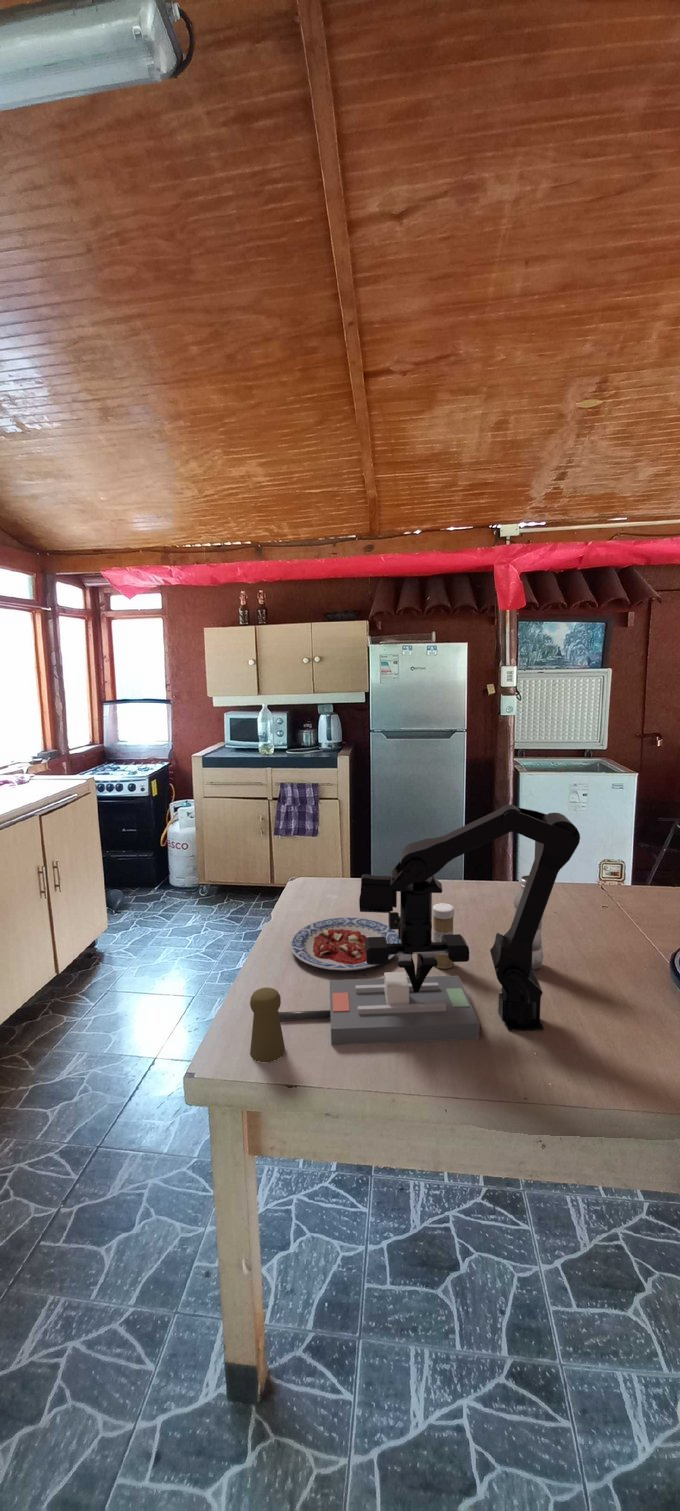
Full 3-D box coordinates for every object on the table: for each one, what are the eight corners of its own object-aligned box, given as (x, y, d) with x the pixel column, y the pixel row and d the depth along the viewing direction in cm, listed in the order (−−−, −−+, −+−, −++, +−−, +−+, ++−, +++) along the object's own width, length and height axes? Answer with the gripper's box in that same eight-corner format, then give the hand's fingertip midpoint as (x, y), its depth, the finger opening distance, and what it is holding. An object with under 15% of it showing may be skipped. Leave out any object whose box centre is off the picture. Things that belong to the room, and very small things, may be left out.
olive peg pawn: (268, 1035, 105) (265, 978, 104) (292, 1049, 102) (290, 990, 100) (242, 1053, 101) (239, 993, 99) (267, 1067, 97) (264, 1006, 95)
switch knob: (405, 991, 113) (405, 971, 112) (409, 1006, 108) (409, 985, 107) (384, 992, 113) (384, 972, 112) (387, 1007, 108) (387, 986, 107)
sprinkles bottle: (451, 959, 131) (451, 902, 129) (455, 969, 127) (456, 910, 125) (430, 959, 131) (430, 902, 129) (434, 970, 127) (434, 911, 125)
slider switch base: (458, 989, 119) (458, 970, 118) (479, 1038, 103) (479, 1018, 103) (280, 995, 118) (279, 977, 117) (273, 1047, 102) (273, 1025, 102)
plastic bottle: (506, 967, 127) (508, 879, 124) (520, 955, 132) (522, 870, 129) (534, 977, 123) (537, 886, 120) (548, 965, 128) (551, 877, 125)
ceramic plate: (273, 970, 128) (273, 957, 128) (310, 921, 153) (310, 910, 153) (389, 985, 122) (389, 972, 121) (409, 931, 146) (409, 919, 146)
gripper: (456, 894, 116) (455, 968, 118) (362, 897, 116) (363, 971, 118) (470, 918, 105) (469, 999, 107) (366, 921, 105) (367, 1002, 107)
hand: (415, 991), depth 110 cm, fingers closed
